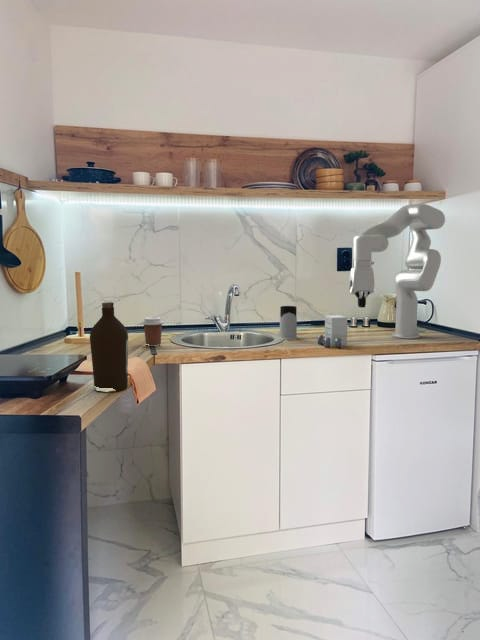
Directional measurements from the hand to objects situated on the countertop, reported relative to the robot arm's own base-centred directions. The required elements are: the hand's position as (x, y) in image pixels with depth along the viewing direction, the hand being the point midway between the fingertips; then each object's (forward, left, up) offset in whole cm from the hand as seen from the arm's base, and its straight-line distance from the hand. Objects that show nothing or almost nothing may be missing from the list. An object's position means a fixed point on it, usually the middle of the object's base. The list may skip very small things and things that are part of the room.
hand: (361, 307), depth 202 cm
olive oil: (+104, +47, -17) cm, 115 cm away
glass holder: (+26, -24, -17) cm, 39 cm away
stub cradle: (+15, 0, -16) cm, 22 cm away
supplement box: (+12, 0, -17) cm, 20 cm away
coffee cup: (+89, -19, -17) cm, 92 cm away
